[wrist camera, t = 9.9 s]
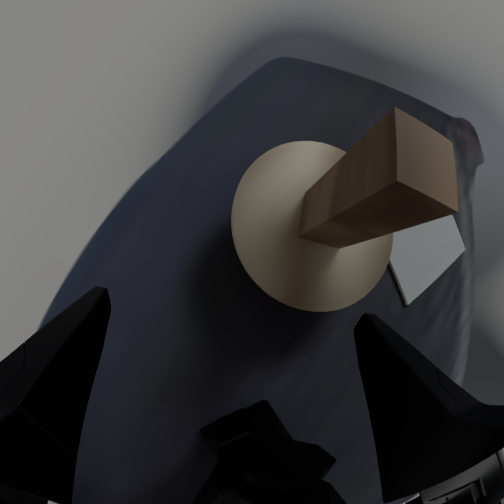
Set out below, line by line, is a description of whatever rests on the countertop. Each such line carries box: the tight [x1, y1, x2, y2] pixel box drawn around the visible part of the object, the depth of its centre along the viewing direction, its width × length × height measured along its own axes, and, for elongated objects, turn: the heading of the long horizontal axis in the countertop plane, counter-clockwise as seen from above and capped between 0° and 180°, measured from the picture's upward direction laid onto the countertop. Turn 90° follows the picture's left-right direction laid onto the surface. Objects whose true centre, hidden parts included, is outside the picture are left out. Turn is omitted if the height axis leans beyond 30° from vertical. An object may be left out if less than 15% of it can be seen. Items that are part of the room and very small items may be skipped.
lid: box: [231, 107, 458, 312], centre depth 13 cm, size 12×12×11 cm
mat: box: [388, 215, 465, 305], centre depth 24 cm, size 12×12×1 cm
